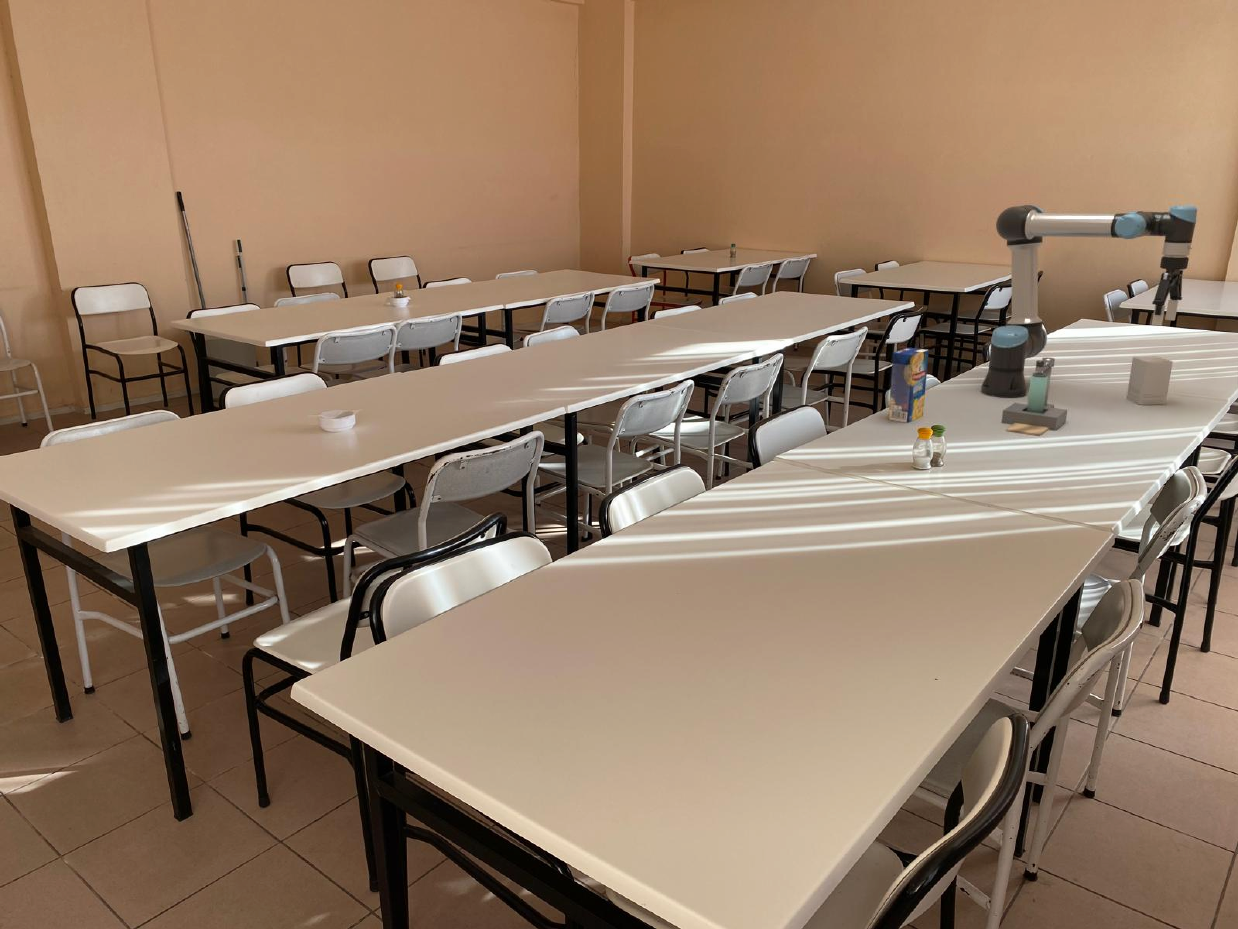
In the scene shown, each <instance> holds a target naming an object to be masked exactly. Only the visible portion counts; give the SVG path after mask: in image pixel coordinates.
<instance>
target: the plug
mask: <svg viewBox="0 0 1238 929" xmlns="http://www.w3.org/2000/svg"><path fill="white" fill-rule="evenodd" d="M1047 379H1048V376H1047V374H1046V373H1043V371H1042V372H1035V371H1034V372H1033V373H1032V374H1031V375H1030V381H1029V390H1028V398H1027V412H1034V413H1042V414H1043V411H1044V403H1045V395H1046V387H1047Z"/></svg>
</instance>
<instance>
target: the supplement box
mask: <svg viewBox="0 0 1238 929" xmlns="http://www.w3.org/2000/svg"><path fill="white" fill-rule="evenodd" d="M1172 368H1173V361H1172V360H1170V359H1167V358H1163V357H1161V356H1156V355H1155V356H1132V361H1131V366H1130V374H1129V380H1128V386H1127V393H1126V400H1128V401H1130V402H1132V403H1134V404H1137V405H1140V406H1142V405H1143V406H1144V405H1146V406H1148V405H1149V406H1150V405H1153V406H1154V405H1160V406H1161V405H1162V406H1163V405H1164V406H1165V405H1166V403H1167V396H1168V392H1169V386H1170V379H1171V375H1172V374H1171V373H1172Z"/></svg>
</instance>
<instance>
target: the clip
mask: <svg viewBox="0 0 1238 929" xmlns="http://www.w3.org/2000/svg"><path fill="white" fill-rule="evenodd" d="M1055 360H1056V359H1055V358H1053V357H1042V359H1041V360H1036V362H1035V363H1036V364H1035V369H1034V372H1042V373H1043V371H1044V370H1046V369H1047V368H1049V367H1051V368H1053V367H1054V366H1055V362H1056V361H1055Z"/></svg>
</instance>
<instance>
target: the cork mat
mask: <svg viewBox="0 0 1238 929" xmlns="http://www.w3.org/2000/svg"><path fill="white" fill-rule="evenodd" d="M1048 430H1049V427H1042V426H1035V425H1028V424H1021V423H1014V424H1010V426H1008V427H1007V428H1005V432H1011V433H1018V434H1022V435H1023V434H1024V435H1031V436H1036V435H1039V436H1038V437H1041V436H1042V435H1043V434H1045V433H1046V432H1047V431H1048ZM1045 431H1046V432H1045ZM1044 432H1045V433H1044ZM1040 435H1041V436H1040Z"/></svg>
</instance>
